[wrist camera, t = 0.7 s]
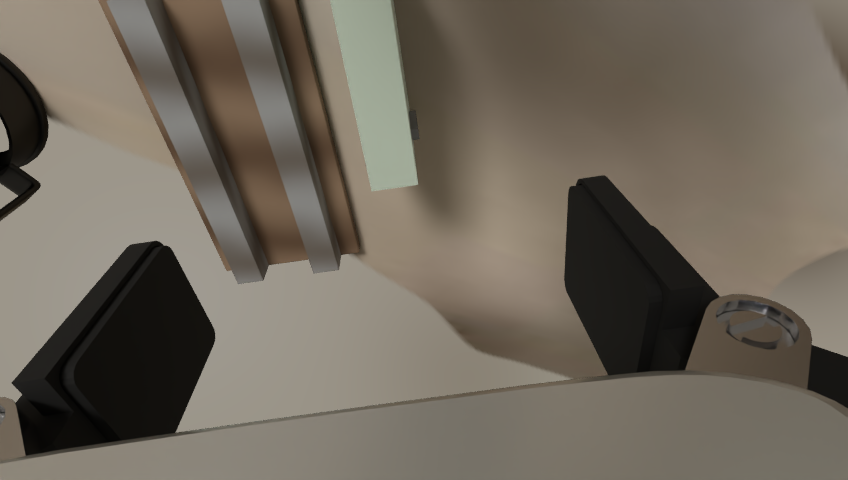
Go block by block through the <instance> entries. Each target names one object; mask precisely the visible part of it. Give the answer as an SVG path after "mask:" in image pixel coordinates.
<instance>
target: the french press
mask: <svg viewBox="0 0 848 480" xmlns="http://www.w3.org/2000/svg"><path fill="white" fill-rule="evenodd" d="M0 118H1V120H2V122H3V124H4V126H5V128H6V132H7V135H8V139H9V150H7V151H4V152H0V183H1V184H2V185H4V186H5V187H7V188H8V189H10V190H11V191H12V192H14V193H15V194H17V195H18V197H17V198H15V199H14V200H13V201H11V202H10V203H8V204H7V205H6V206H5V207H3V208H2V209H0V221H1V220H2V219H3V218H5V217H6V216H7V215H8V214H10V213H11V212H12V211H14V210H15V209H17V208H18V207H19V206H20V205H22V204H23V203H25V202H26V201H27V200H28V199H29V198H30V197H31V196H32V195H33V194H34V193H35V192H36V191H37V190H38V189H39V188H40V186H41V185H40V183H39V182H38V181H37V180H35V179H34V178H33V177H31V176H30V175H29V174H27V173H26V172H24V171H23V170H22V169H20V168H19V167H21V166H24V165H26V164H28V163H29V162H31V161H32V160H34V159H35V158H36V157H38V155H39V154H40V153H41V151H42V150H43V148H44V147H45V144H46V141H47V138H48V120H47V115H46V111H45V108H44V106H43V104H42V101H41V99H40V97H39V95H38V94H37V92H36V90H35V89H34V87H33V86H32V84H31V83H30V82H29V80H28V79H27V78H26V77H25V76H24V75H23V73H22V72H21V71H20V70H19V69H18V68H17V67H16V66H15V65H14V64H13V63H12V62H10V61H9V60H8V59H7V58H6V57H5V56H3V55H2V54H1V53H0Z"/></svg>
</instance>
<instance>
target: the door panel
mask: <svg viewBox="0 0 848 480" xmlns="http://www.w3.org/2000/svg"><path fill="white" fill-rule="evenodd" d="M330 2H331V7H332V11H333V16H334V20H335V25H336V30H337V34H338V39H339V43H340V48H341V53H342V57H343V62H344V66H345V71H346V76H347V80H348V85H349V89H350V94H351V99H352V103H353V108H354V112H355V117H356V122H357V126H358V131H359V135H360V140H361V145H362V149H363V154H364V158H365V163H366V168H367V172H368V177H369V181H370V186H371V191H377V190H384V189H391V188H399V187H406V186H413V185H418V178H417V169H416V160H415V151H414V142H413V140H417V139H419V132H418V125H417V118H416V111H415V110H413V111H410V109H409V102H408V95H407V89H406V82H405V75H404V68H403V61H402V55H401V48H400V41H399V34H398V27H397V21H396V14H395V7H394V0H330Z"/></svg>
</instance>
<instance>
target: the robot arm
mask: <svg viewBox="0 0 848 480" xmlns="http://www.w3.org/2000/svg"><path fill="white" fill-rule="evenodd" d="M564 281H565V287H566V291H567V293H568V295H569V297H570V299H571V301H572V303H573V305H574V307H575V309H576V311H577V313H578V315H579V317H580V319H581V321H582V323H583V325H584V327H585V329H586V331H587V333H588V335H589V337H590V339H591V341H592V343H593V345H594V347H595V349H596V351H597V353H598V355H599V357H600V359H601V361H602V363H603V365H604V367H605V369H606V371H607V373H608V375H607V376H597V377H587V378H579V379H571V380H564V381H556V382H548V383H539V384H530V385H523V386H516V387H507V388H500V389H492V390H485V391H477V392H470V393H462V394H454V395H447V396H439V397H431V398H424V399H416V400H409V401H402V402H394V403H386V404H379V405H372V406H365V407H357V408H350V409H343V410H335V411H328V412H320V413H314V414H306V415H300V416H292V417H284V418H278V419H270V420H263V421H255V422H248V423H241V424H235V425H227V426H220V427H213V428H207V429H199V430H192V431H185V432H179V433H175V432H176V430H177V428H178V425H179V423H180V421H181V419H182V416H183V414H184V412H185V409H186V407H187V404H188V402H189V400H190V398H191V396H192V393H193V391H194V389H195V386H196V384H197V382H198V379H199V377H200V375H201V373H202V370H203V368H204V365H205V363H206V361H207V359H208V356H209V354H210V352H211V350H212V347H213V345H214V342H215V331H214V328H213V326H212V324H211V322H210V320H209V318H208V317H207V315H206V313H205V311H204V309H203V307H202V305H201V303H200V302H199V300H198V298H197V296H196V294H195V292H194V290H193V288H192V286H191V285H190V283H189V281H188V279H187V277H186V275H185V273H184V272H183V270H182V268H181V266H180V264H179V262H178V260H177V259H176V256H175V255H174V253H173V251H172V250H171V248H170V247H168V246H164V245H163V244H162V243H160V242H158V241H152V242H145V243H139V244H132V245H130V246H128V247H127V248H126V249H125V251H124V252H123V253H122V254H121V255H120V257H119V258H118V259H117V260H116V261H115V262H114V263H113V265H112V266H111V267H110V268H109V270H108V271H107V272H106V273H105V274H104V275H103V276H102V278H101V279H100V280H99V281H98V282H97V283H96V285H95V286H94V287H93V288H92V289H91V290H90V292H89V293H88V294H87V295H86V296H85V297H84V299H83V300H82V301H81V302H80V303H79V305H78V306H77V307H76V308H75V309H74V310H73V312H72V313H71V314H70V315H69V316H68V318H67V319H66V320H65V321H64V322H63V323H62V325H61V326H60V327H59V328H58V329H57V330H56V331H55V333H54V334H53V335H52V336H51V338H50V339H49V340H48V341H47V342H46V343H45V344H44V346H43V347H42V348H41V349H40V350H39V351H38V353H37V354H36V355H35V356H34V357H33V358H32V360H31V361H30V362H29V363H28V364H27V365H26V367H25V368H24V369H23V370H22V372H21V373H20V374H19V375H18V376H17V377H16V378H15V380H14V381H13V382H12V384H13V385H14V386H15V387H16V388H17V389H18V390H19V391H20V392H21V393H22V396H21V397H20V398H19V399H18V401H17V402H16V403H15V402H14V401H13V400H12V399H9V398H6V397H0V480H848V357H846V356H843V355H840V354H837V353H834V352H831V351H828V350H825V349H822V348H819V347H816V346H813V345H812V337H811V331H810V328H809V327H808V326H807V324H806V323H805V322H804V320H803V319H802V318H801V317H799V316H798V315H797V314H796V313H795V312H793V311H792V310H791V309H789V308H787V307H785V306H783V305H781V304H779V303H777V302H774V301H772V300H769V299H766V298H763V297H758V296H752V295H747V294H731V295H727V296H722V297H719V296H718V294H717V293H716V292H715V291H714V290H713V289H712V288H711V287H710V286H709V285H708V284H707V282H706V281H705V280H704V279H703V278H702V277H701V276H700V275H699V274H698V273H697V272H696V271H695V269H694V268H693V267H692V266H691V265H690V264H689V263H688V262H687V261H686V260H685V259H684V257H683V256H682V255H681V254H680V253H679V252H678V251H677V250H676V249H675V248H674V247H673V246H672V244H671V243H670V242H669V241H668V240H667V239H666V238H665V237H664V236H663V235H662V234H661V233H660V231H659V230H658V229H656V228H655V227H654V226H651V225H650V224H649V223H648V222H647V221H646V220H645V219H644V217H643V216H642V215H641V214H640V213H639V212H638V211H637V210H636V209H635V208H634V206H633V205H632V204H631V203H630V202H629V201H628V200H627V199H626V198H625V197H624V195H623V194H622V193H621V192H620V191H619V190H618V189H617V188H616V187H615V186H614V184H613V183H612V182H611V181H610V180H609V179H608V178H607V177H606V176H605V175H604V176H596V177H589V178H582V179H579V180H578V181H577V183H576V186H571V187H570V188H569V193H568V213H567V234H566V255H565V276H564Z"/></svg>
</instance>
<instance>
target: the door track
mask: <svg viewBox="0 0 848 480" xmlns="http://www.w3.org/2000/svg"><path fill="white" fill-rule="evenodd" d="M98 1H99V3H100V5H101V7H102V9H103V11H104V13H105V15H106V17H107V20H108V22H109V24H110V26H111V28H112V30H113V32H114V34H115V36H116V39H117V41H118V43H119V45H120V47H121V49H122V51H123V53H124V55H125V57H126V60H127V62H128V64H129V66H130V68H131V70H132V72H133V74H134V76H135V79H136V81H137V83H138V85H139V87H140V89H141V91H142V93H143V95H144V98H145V100H146V102H147V104H148V106H149V108H150V110H151V112H152V114H153V116H154V119H155V121H156V123H157V125H158V127H159V129H160V131H161V133H162V135H163V138H164V140H165V142H166V144H167V146H168V148H169V150H170V152H171V154H172V157H173V159H174V161H175V163H176V165H177V167H178V169H179V171H180V173H181V175H182V178H183V179H184V182H185V184H186V186H187V188H188V190H189V192H190V194H191V196H192V199H193V201H194V203H195V205H196V207H197V209H198V211H199V213H200V215H201V217H202V220H203V222H204V224H205V226H206V228H207V230H208V232H209V234H210V237H211V239H212V241H213V243H214V245H215V247H216V249H217V251H218V253H219V256H220V258H221V260H222V262H223V264H224V266H225V268H226V270H227V271H229V270H232V272H233V274H234V276H235V278H236V280H237V283H238V284H242V283H249V282H256V281H263V280H264V277H265V274H266V271H267V269H268V266H269V265H272V264H279V263H286V262H294V261H301V260H308V259H309V261H310V264H311V267H312V270H313V273H320V272H327V271H335V270H339V266H340V258H341V255H343V254H350V253H357V252H359V249H360V244H359V240H358V236H357V232H356V228H355V224H354V220H353V216H352V212H351V208H350V204H349V201H348V197H347V193H346V189H345V185H344V181H343V177H342V173H341V169H340V165H339V161H338V157H337V153H336V149H335V145H334V141H333V137H332V133H331V129H330V126H329V122H328V118H327V114H326V110H325V106H324V102H323V98H322V94H321V90H320V86H319V82H318V78H317V74H316V70H315V66H314V62H313V58H312V54H311V51H310V47H309V43H308V39H307V35H306V31H305V27H304V23H303V19H302V15H301V11H300V7H299V3H298V0H98Z"/></svg>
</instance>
